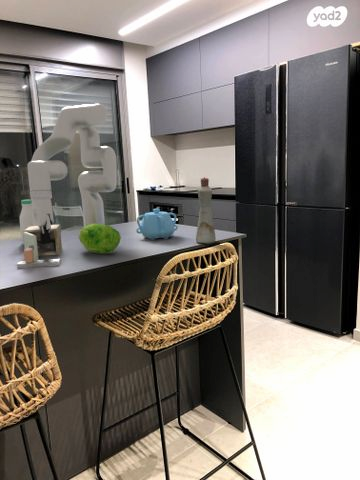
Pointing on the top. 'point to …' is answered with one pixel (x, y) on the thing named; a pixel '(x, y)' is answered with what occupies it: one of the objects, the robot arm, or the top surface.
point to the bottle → (205, 214)
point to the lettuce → (99, 238)
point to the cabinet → (55, 239)
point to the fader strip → (39, 263)
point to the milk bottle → (26, 216)
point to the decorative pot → (157, 224)
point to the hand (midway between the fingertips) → (45, 243)
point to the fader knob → (29, 255)
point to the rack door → (30, 243)
